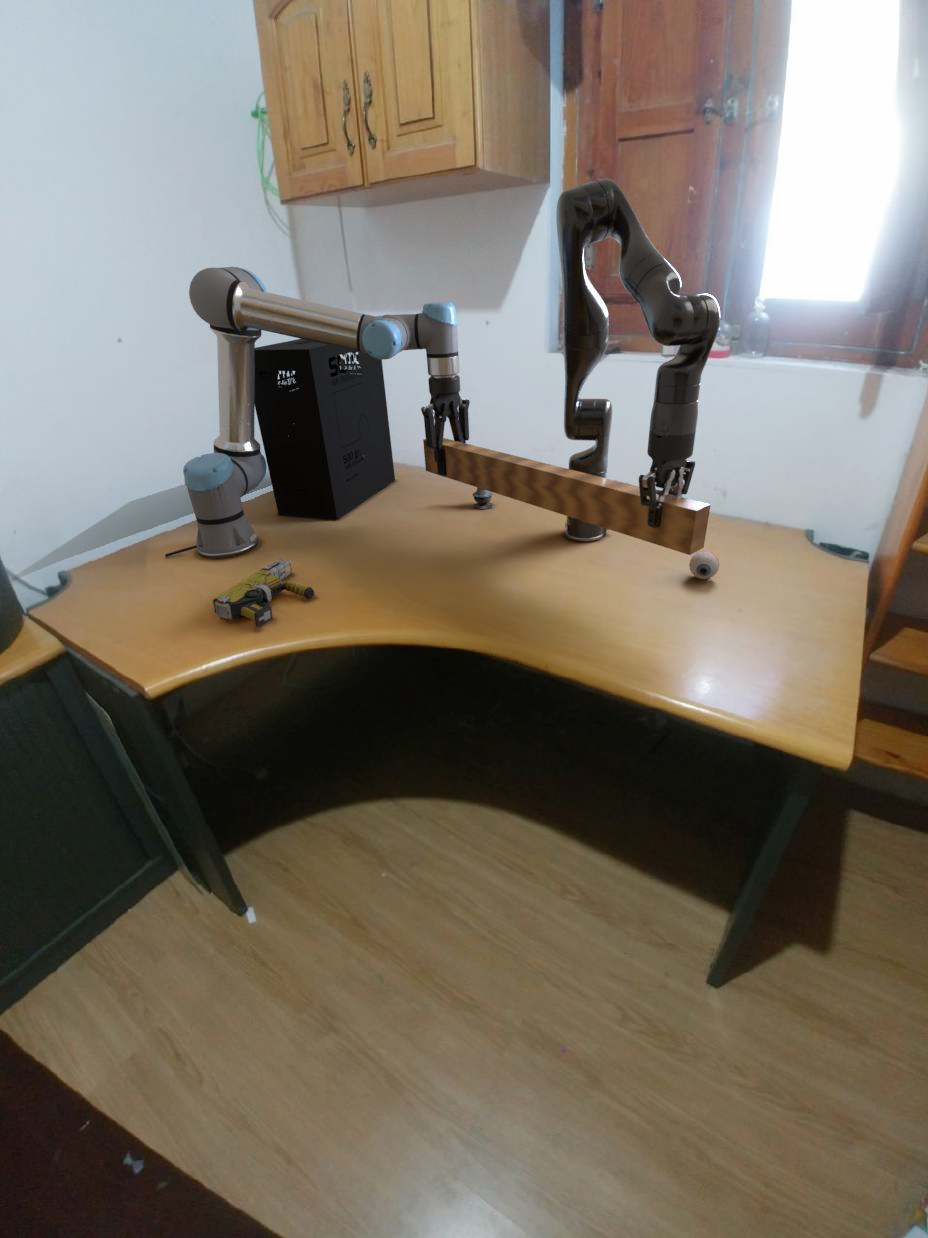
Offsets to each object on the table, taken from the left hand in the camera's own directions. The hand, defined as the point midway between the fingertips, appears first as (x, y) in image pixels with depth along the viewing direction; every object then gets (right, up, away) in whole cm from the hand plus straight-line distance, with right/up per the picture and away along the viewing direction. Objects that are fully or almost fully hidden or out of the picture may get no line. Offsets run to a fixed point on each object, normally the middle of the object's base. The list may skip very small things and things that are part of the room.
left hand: (450, 472), depth 155 cm
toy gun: (-37, -34, -24) cm, 55 cm away
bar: (+20, -12, -21) cm, 31 cm away
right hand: (+40, -20, -44) cm, 63 cm away
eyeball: (+55, -29, -25) cm, 67 cm away
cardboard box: (-36, +1, +36) cm, 51 cm away
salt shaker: (+9, -5, +22) cm, 24 cm away
